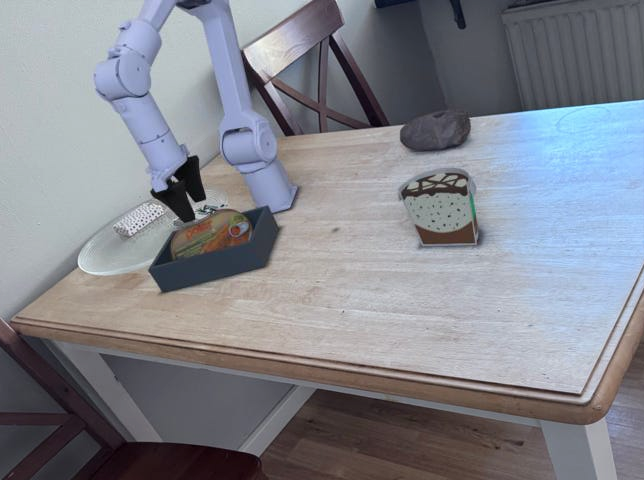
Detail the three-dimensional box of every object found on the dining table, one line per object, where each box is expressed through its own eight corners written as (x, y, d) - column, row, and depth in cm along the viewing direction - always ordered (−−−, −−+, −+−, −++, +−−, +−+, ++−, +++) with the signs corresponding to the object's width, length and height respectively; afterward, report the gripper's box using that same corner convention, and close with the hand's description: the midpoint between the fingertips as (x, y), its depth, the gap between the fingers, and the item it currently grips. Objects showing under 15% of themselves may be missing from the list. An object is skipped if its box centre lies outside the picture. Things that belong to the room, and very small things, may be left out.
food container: (499, 222, 98) (485, 162, 92) (486, 244, 94) (470, 183, 88) (429, 224, 104) (411, 168, 98) (413, 246, 100) (394, 189, 94)
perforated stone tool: (399, 157, 129) (388, 124, 125) (409, 145, 132) (399, 113, 128) (467, 150, 122) (458, 115, 118) (476, 137, 125) (468, 103, 121)
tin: (186, 282, 115) (161, 242, 110) (183, 275, 117) (159, 236, 112) (261, 243, 118) (240, 203, 112) (257, 238, 120) (236, 198, 115)
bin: (185, 253, 125) (172, 231, 122) (279, 228, 121) (268, 204, 117) (162, 292, 114) (147, 270, 111) (264, 266, 110) (251, 242, 107)
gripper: (145, 127, 109) (185, 198, 117) (115, 161, 97) (163, 237, 106) (182, 114, 107) (220, 187, 116) (157, 147, 96) (201, 225, 105)
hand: (195, 210), depth 111 cm, fingers open, 7 cm apart
